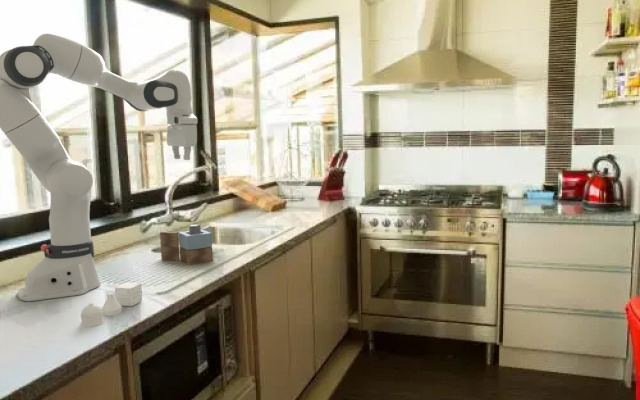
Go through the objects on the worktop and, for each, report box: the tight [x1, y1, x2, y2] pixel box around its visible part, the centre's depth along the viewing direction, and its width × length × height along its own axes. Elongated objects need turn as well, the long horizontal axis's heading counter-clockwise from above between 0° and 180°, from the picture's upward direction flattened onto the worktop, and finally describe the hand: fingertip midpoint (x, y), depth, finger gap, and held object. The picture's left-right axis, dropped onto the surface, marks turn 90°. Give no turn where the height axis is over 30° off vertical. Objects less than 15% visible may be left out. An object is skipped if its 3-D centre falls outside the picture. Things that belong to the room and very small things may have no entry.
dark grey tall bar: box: [188, 223, 202, 235], centre depth 189 cm, size 4×4×13 cm
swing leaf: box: [178, 225, 213, 250], centre depth 193 cm, size 14×14×10 cm
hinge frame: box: [159, 231, 214, 266], centre depth 190 cm, size 14×14×10 cm
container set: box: [80, 282, 143, 328], centre depth 136 cm, size 20×5×6 cm, turn 164°
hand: (182, 159), depth 181 cm, fingers open, 8 cm apart
